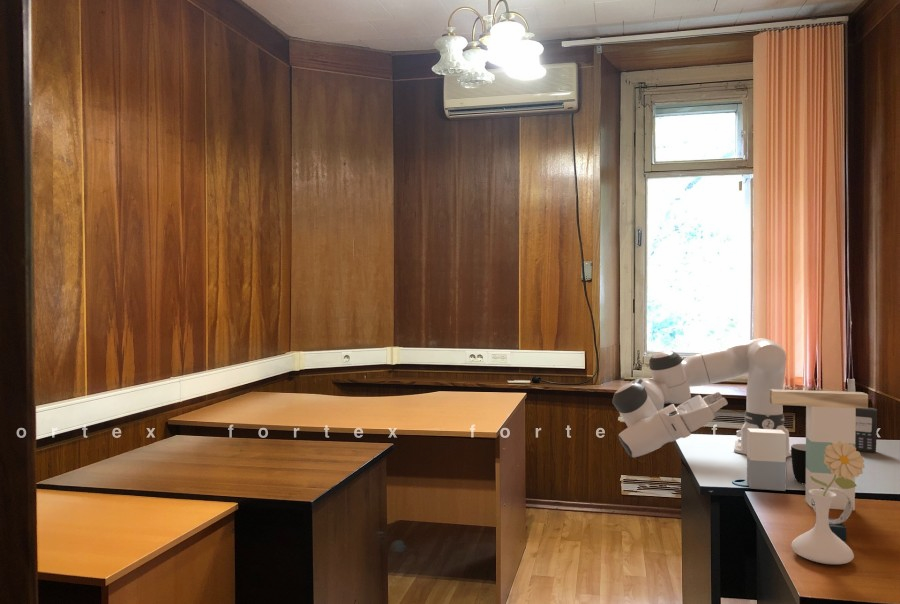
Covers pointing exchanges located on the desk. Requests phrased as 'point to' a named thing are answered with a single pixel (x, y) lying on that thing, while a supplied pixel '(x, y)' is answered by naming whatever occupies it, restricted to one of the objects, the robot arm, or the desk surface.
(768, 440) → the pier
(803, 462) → the mug
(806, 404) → the batten
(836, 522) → the watch
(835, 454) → the flower in vase
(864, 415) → the card reader
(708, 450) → the desk surface
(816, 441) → the tower
